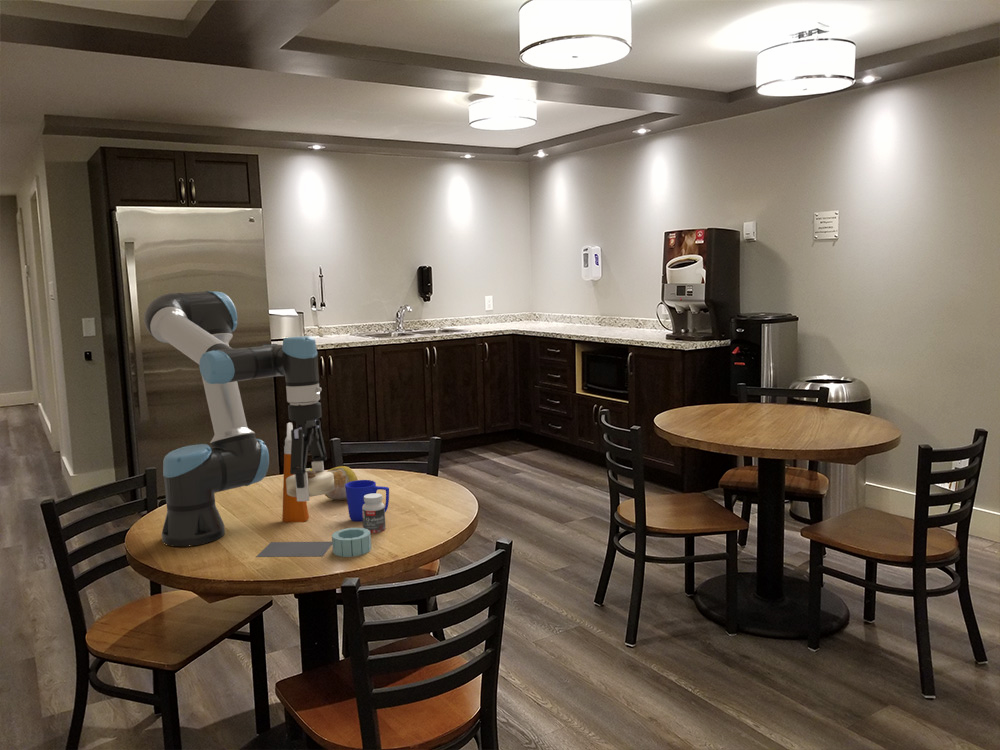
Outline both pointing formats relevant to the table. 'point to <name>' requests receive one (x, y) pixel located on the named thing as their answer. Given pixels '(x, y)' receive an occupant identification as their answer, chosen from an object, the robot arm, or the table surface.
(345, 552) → the bowl
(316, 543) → the mat
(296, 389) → the robot arm
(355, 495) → the mug
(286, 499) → the orange squeeze bottle
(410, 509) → the table surface
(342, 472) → the fruit
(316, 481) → the lid
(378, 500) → the pill bottle
